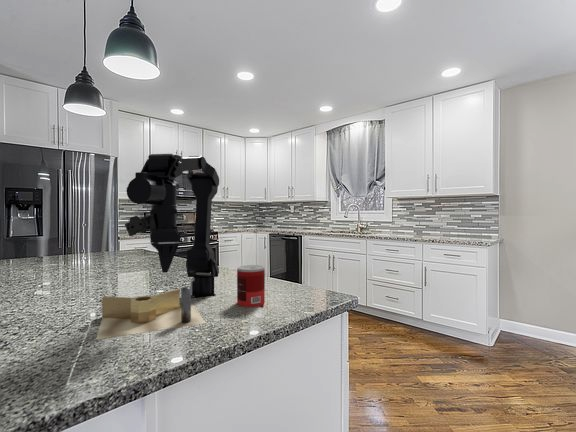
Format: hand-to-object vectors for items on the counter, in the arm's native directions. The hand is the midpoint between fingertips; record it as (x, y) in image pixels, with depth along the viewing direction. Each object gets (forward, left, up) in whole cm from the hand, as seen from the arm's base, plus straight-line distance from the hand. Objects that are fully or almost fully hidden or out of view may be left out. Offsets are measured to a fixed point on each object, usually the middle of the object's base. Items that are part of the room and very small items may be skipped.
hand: (163, 269), depth 77 cm
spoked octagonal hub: (+5, -3, -12) cm, 13 cm away
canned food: (-23, -3, -13) cm, 27 cm away
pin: (-4, +5, -12) cm, 14 cm away
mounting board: (+3, 0, -13) cm, 13 cm away
